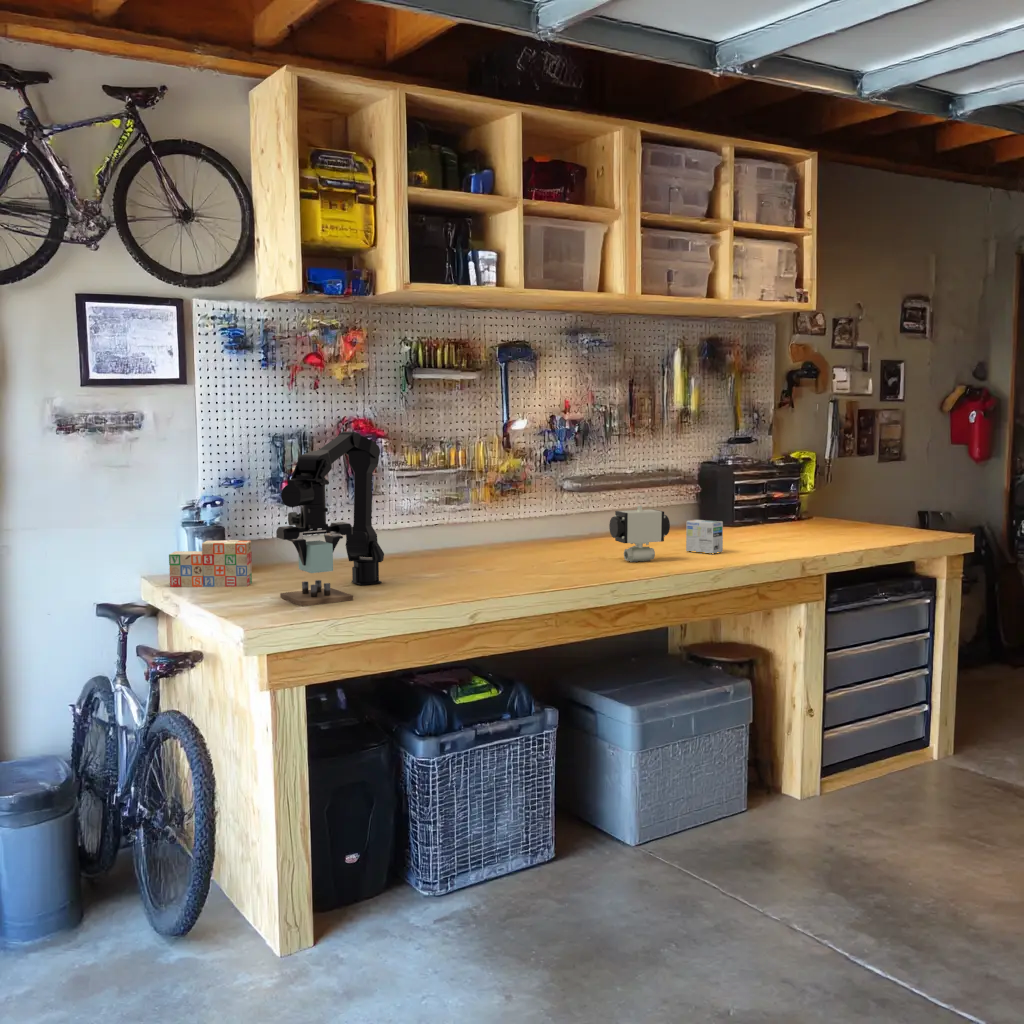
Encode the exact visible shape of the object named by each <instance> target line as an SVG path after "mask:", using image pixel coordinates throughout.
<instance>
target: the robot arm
mask: <svg viewBox="0 0 1024 1024" xmlns="http://www.w3.org/2000/svg"><path fill="white" fill-rule="evenodd" d="M380 454H381V449H380V446H379V445H378V444H377V443H376V442H375V441H374V440H372V439H370V438H368V437H366V436H362V435H361V434H360V433H358V432H356V431H342V432H339V433H338V436H336V437H334V439H332V440H330V441H328V443H326V444H325V445H323V446H322V447H321V448H319V449H316V450H313V451H308V452H306V453H304V454H301V455H300V456H299V457H298V459H297V461H296V464H295V467H294V469H293V472H292V475H291V477H290V479H287V484H286V485H285V486H284V487H283V488H282V490H281V492H280V494H281V495H280V497H281V500H282V502H283V504H284V506H286V507H287V508H296V507H300V513H299V514H298V512H296V511H292V512H288V513H287V523H288V525H286V526H285V525H284V526H278V527H277V529H276V531H275V532H276V538H277V539H280V540H283V541H286V540H287V541H288V542H291V543H292V544H293V545H294V547H295V549H296V551H297V554H299V556H298V558H299V557H300V559H301V562H302V564H303V565H304V566H305V565H306V542H307V539H304V536H309V535H310V536H311V535H322V534H324V535H323V536H324V537H323V538H324V542H328V543H331V544H333V553H334V552H335V549H336V547H337V546H338V544H339V542H340V540H341V539H344V536H345V549H346V554H347V558H348V562H353V566H352V569H351V571H352V572H351V573H352V574H351V575H352V576H351V577H352V580H351V583H353V584H356V585H359V586H366V585H368V586H369V585H375V584H381V583H382V580H380V568H379V567H380V563H382V562H383V561H384V557H385V553H384V551H383V549H382V548H381V545H380V544H379V542H378V534H377V533H376V531H375V529H374V526H373V525H372V521H373V520H372V519H373V518H372V516H373V515H372V513H373V510H372V509H373V508H372V507H373V473H374V472H375V469H376V468H378V467H377V466H378V465H379V463H380V461H379V460H380V456H381V455H380ZM344 455H347V457H348V465H349V467H351V469H352V471H353V473H354V475H353V476H354V479H353V482H354V483H353V485H354V487H353V488H354V489H353V494H354V495H353V525H352V524H351V523H348V522H344V521H338V522H337V521H336V522H330V524H329V523H327V513H328V511H329V510H328V509H329V508H328V507H326V506H327V505H326V504H327V503H326V500H327V499H326V486H328V485H330V481H329V480H328V479H327V478H326V477H327V475H328V474H329V473H330V471H332V469H333V463H335V462H336V461H338V459H340V458H341V457H342V456H344Z"/></svg>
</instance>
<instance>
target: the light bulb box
mask: <svg viewBox="0 0 1024 1024" xmlns="http://www.w3.org/2000/svg"><path fill="white" fill-rule="evenodd" d="M685 526H686V527H685V529H686V531H685V533H686V534H685V535H686V536H685V537H686V540H685V542H686V543H685V552H686V551H696V552H705V553H717V552H722V551H723V552H724V550H723V549H724V548H723V547H724V545H723V544H724V543H723V542H724V540H723V539H724V538H723V537H724V531H723V530H724V522H723V521H722V520H720V521H719V520H718V521H717V520H707V519H705V520H704V519H691V520H686V525H685ZM723 552H722V553H723Z"/></svg>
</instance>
